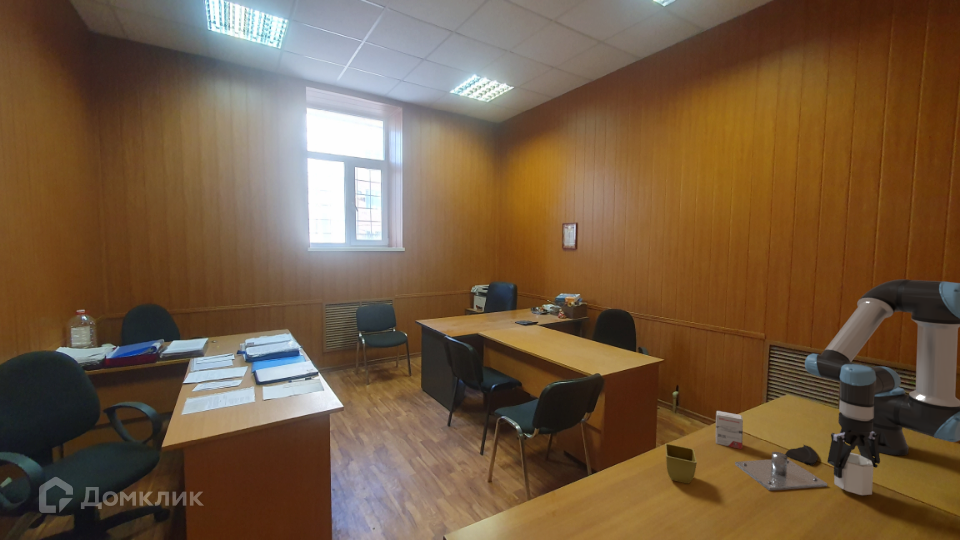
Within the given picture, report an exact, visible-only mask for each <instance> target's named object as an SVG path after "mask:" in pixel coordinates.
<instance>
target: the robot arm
mask: <svg viewBox="0 0 960 540" xmlns="http://www.w3.org/2000/svg"><path fill="white" fill-rule="evenodd" d="M856 305H857V308H856V309H855V310H854V312H853V313H852V314H851V316H850V317H849V318H848V319H847V321H846V322H845V323H844V324H843V326H842V327H841V328H840V329H839V331H838V332H837V334H836V335H835V336H834V338H832V339H831V341H830V342H829V344H827V346H826V348H824V350H823V351H822V353H821V354H819V353H811V354H809V355H807V357H806V358H805V360H804V367H805V371H807V373H808V374H811V375H814V376H816V377H819V378H822V379H826V380H831V381H834V382H837V383H839V403H838V404H839V408H838V410H839V413H838V419H837V420H838V424H839V426H840V428H841V429H840V431H839V433H835V432H832V433H831V434H830V438H831V439H830V440H831V441H830V442H831V443H830V446H829V452H828V457H827V462H826V463H828V464H829V465H832V466H833V475H834V476H835V479H834V483H833V484H834V485H835V486H837V487H839V488H840V489H842V490H844V489H846V469H845V468H844V466H845V464H846V462H847V460H848V457H849V455H850V453H852V451H853V450H855V448H856V447H857V449H858V452H859V455H861V456H863V457H865V458H867V459H869V460H871V461H872V464H873V468H878V467H879V466H878V465H879V464H880V463H881V457H880V453H881V454H886V455H892V456H905V455H908V454H909V445H908V443H907V439H906V437H905V435H904V432H903V428H905V429H909V430H912V431H914V432H917V433H921V434H924V435H926V436H930V437H932V438H934V439H939V440H943V441H946V442H949V443H950V442H951V443H956V442H959V441H960V399H958V398H957V397H956V389H957V388H956V384H957V383H956V382H957V364H958V363H957V358H958V336H959V335H958V334H959V332H958V331H959V328H960V282H952V281H951V282H950V281H939V280H921V279H903V278H901V279H893V280H890V281H885V282H883V283H880V284H878V285H877V286H875V287H872V288H870V290H868V291H866V292H865V293H864V294H863V295H862V296H860V298H859V299H858V301H857V303H856ZM899 312H902V313H910V314H911V317H910V319H911V321H913V322H915V323H916V325H917V337H916V338H917V341H916V343H917V344H916V371H915V376H916V377H915V389H914V390H912V391H910V392H909V393H908V394H906V392H907V391H906V390H905V389H904V388H902V387H900V386H901V382H902V381H901V376H900V375H899V374H898V373H897V372H896V371H895V370H894V369H892V368H890V367H886V366H868V365H864V364H861V363H856V362H852V361H853V360H854V359H856V356H857V355H858V354H859V353H860V351H861V350H862V349H863V347H864V346H865V344H867V342H868V340H869V339H870V338H871V337H872V336H873V334H874V333H875V331H876V330H877V329H878V327H879V326H880V325H881V324H882V322H884V320H885V319H888V318H890V317H892V316H893V315H894V313H899ZM839 463H840V464H839ZM834 476H833V477H834Z"/></svg>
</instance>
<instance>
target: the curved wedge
mask: <svg viewBox="0 0 960 540" xmlns="http://www.w3.org/2000/svg"><path fill="white" fill-rule="evenodd" d="M784 454H785V455H786V456H787V458H788V459H790V460H794V461H796V462H799V463H803V464H806V465H808V466H810V467H811V466H814V465H815V464H816V463H817V461H818V458H819V457H818V454H817V452H816V451H815V450H814V449H813V447H811V446H809V445H806V444H803V446H801V447H797V448H790V449H788V450H787V451H786V452H785V453H784Z"/></svg>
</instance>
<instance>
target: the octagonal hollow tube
mask: <svg viewBox="0 0 960 540" xmlns="http://www.w3.org/2000/svg"><path fill="white" fill-rule="evenodd" d="M839 464H840V463H839ZM844 468H845V469H846V489H844V490H845V491H846V492H849V493H853V494H856V495H859V496H867V495H868V496H869V495H873V479H874V467H873V464H872V461H871V460H869V459H867V458H865V457H863V456H861V455H860V454H858V453H854V452H851V453H850V455H849V457H848V460H847V462H846V464H845V466H844ZM833 477H834V478H833V479H834V480H835V476H833Z"/></svg>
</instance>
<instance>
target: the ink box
mask: <svg viewBox="0 0 960 540" xmlns="http://www.w3.org/2000/svg"><path fill="white" fill-rule="evenodd" d="M743 424H744V420H743V415H742V414H738V413H737V414H736V413H731V412H726V411H721V410H716V411H715V444H716V445H721V446H726V447H730V448H735V449H737V450H738V449H740V450H742V449H743V436H744V435H743V431H744V430H743V429H744V428H743V427H744V426H743Z"/></svg>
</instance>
